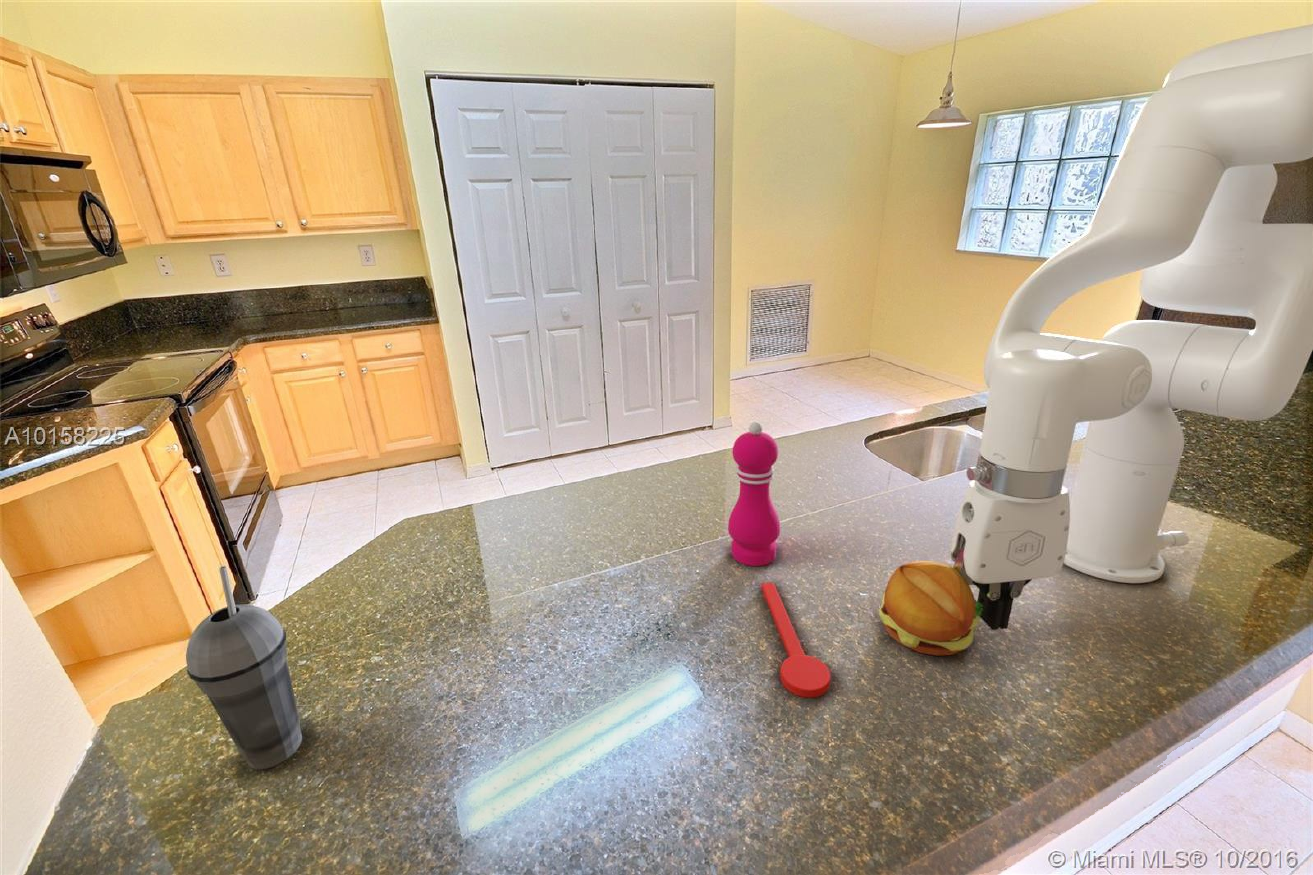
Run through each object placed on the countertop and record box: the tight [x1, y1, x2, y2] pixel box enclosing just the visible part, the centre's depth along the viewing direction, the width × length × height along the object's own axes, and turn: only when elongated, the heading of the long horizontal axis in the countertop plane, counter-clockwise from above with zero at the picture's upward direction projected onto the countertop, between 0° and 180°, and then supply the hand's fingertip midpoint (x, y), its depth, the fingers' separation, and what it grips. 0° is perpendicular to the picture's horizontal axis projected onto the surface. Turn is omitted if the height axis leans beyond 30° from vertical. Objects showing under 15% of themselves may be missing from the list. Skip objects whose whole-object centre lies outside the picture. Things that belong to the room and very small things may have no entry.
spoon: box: [760, 582, 831, 699], centre depth 66 cm, size 5×18×1 cm, turn 4°
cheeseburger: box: [878, 560, 983, 657], centre depth 64 cm, size 10×11×10 cm
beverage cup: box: [185, 565, 303, 770], centre depth 51 cm, size 7×7×20 cm
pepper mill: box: [727, 421, 781, 567], centre depth 79 cm, size 7×7×20 cm
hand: (991, 621), depth 65 cm, fingers closed
